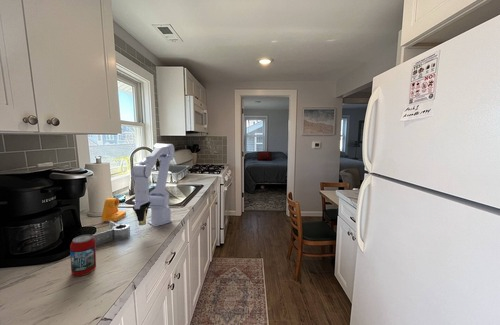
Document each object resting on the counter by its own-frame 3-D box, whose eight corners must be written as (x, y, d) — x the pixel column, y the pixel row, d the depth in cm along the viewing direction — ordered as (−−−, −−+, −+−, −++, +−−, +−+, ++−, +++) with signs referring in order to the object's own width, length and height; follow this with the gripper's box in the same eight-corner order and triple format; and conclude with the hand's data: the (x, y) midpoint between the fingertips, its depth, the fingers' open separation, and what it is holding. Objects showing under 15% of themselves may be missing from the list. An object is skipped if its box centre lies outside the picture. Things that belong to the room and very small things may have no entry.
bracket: (115, 223, 114) (114, 201, 113) (101, 222, 114) (100, 200, 113) (126, 215, 125) (126, 195, 124) (114, 215, 125) (114, 195, 124)
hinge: (117, 228, 108) (117, 218, 107) (132, 236, 100) (132, 226, 99) (83, 238, 96) (82, 228, 95) (96, 249, 88) (96, 237, 87)
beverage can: (68, 279, 69) (66, 244, 68) (74, 268, 75) (72, 235, 74) (94, 274, 72) (93, 240, 71) (97, 263, 78) (96, 232, 77)
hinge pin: (144, 221, 102) (144, 205, 102) (148, 224, 100) (148, 207, 99) (136, 224, 99) (135, 207, 99) (139, 226, 97) (139, 209, 96)
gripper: (137, 186, 104) (138, 213, 106) (126, 194, 90) (127, 225, 92) (153, 186, 106) (153, 213, 107) (144, 194, 91) (144, 225, 93)
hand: (142, 219), depth 99 cm, fingers closed on hinge pin, 4 cm apart
